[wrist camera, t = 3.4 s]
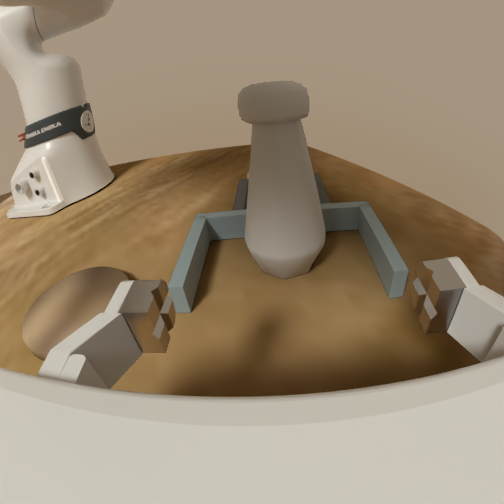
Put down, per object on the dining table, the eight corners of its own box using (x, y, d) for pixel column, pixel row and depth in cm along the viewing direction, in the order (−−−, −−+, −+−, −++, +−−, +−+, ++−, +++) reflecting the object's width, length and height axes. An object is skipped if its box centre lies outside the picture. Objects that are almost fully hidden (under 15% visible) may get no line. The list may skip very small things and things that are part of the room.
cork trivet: (11, 362, 17) (4, 353, 17) (55, 283, 26) (50, 275, 25) (117, 362, 17) (110, 351, 17) (146, 268, 26) (142, 258, 25)
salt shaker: (256, 241, 27) (235, 83, 20) (324, 241, 26) (318, 77, 19) (242, 285, 22) (210, 91, 15) (325, 287, 21) (321, 82, 14)
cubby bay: (402, 296, 19) (408, 270, 18) (176, 312, 20) (167, 287, 19) (365, 223, 27) (367, 201, 26) (201, 235, 29) (196, 214, 28)
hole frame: (333, 222, 28) (333, 207, 27) (234, 230, 29) (231, 215, 28) (318, 185, 36) (318, 173, 35) (241, 191, 36) (239, 179, 36)
